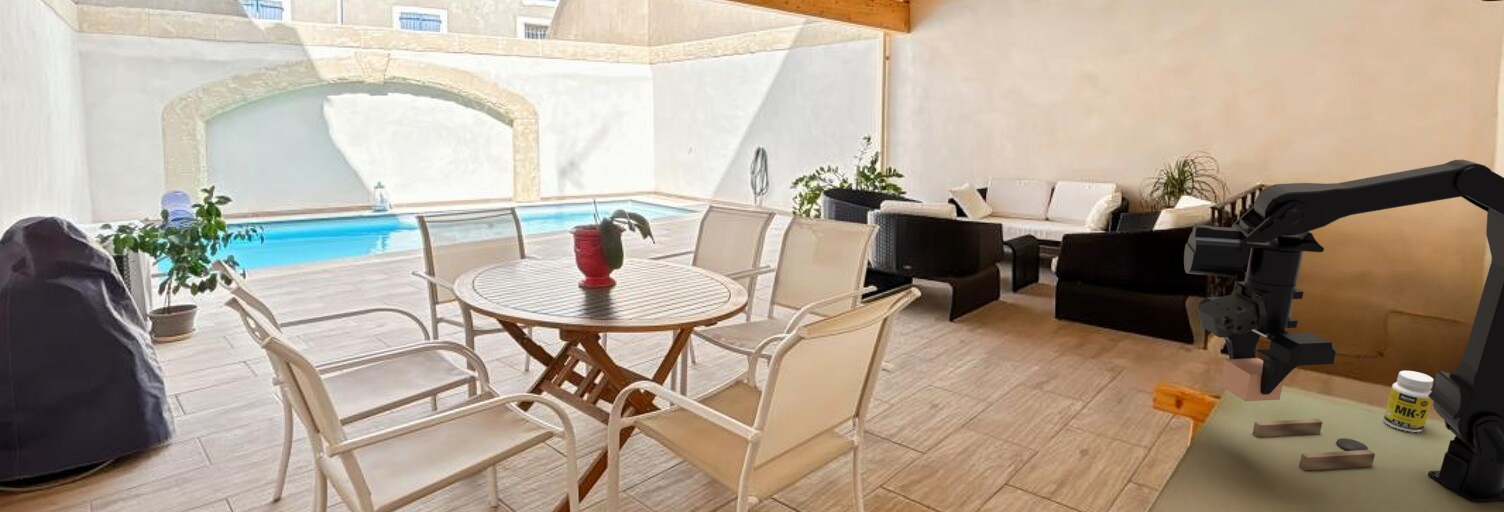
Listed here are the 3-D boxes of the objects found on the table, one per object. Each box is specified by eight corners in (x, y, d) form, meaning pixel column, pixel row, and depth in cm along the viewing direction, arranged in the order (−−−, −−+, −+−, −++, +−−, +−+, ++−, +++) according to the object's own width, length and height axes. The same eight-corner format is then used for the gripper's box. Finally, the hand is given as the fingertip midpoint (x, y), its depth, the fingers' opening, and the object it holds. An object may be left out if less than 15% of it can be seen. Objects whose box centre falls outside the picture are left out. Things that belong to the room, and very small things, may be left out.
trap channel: (1334, 429, 114) (1337, 417, 114) (1394, 465, 105) (1397, 452, 104) (1252, 433, 113) (1254, 422, 113) (1304, 470, 104) (1307, 457, 103)
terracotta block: (1253, 383, 108) (1258, 357, 107) (1279, 399, 103) (1284, 372, 102) (1220, 385, 107) (1225, 359, 106) (1245, 401, 103) (1250, 374, 101)
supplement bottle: (1387, 429, 114) (1399, 378, 112) (1379, 415, 118) (1391, 366, 116) (1427, 436, 112) (1441, 385, 110) (1418, 422, 116) (1431, 372, 114)
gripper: (1171, 261, 109) (1156, 360, 113) (1265, 305, 91) (1243, 420, 95) (1243, 259, 110) (1225, 357, 114) (1351, 302, 92) (1325, 416, 96)
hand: (1250, 385), depth 105 cm, fingers closed on terracotta block, 5 cm apart
